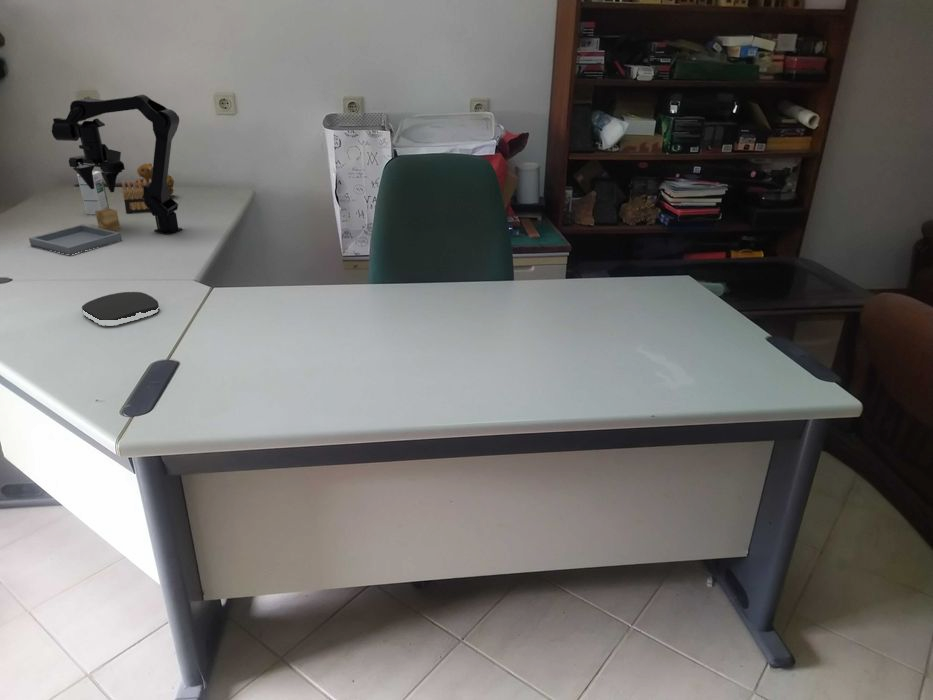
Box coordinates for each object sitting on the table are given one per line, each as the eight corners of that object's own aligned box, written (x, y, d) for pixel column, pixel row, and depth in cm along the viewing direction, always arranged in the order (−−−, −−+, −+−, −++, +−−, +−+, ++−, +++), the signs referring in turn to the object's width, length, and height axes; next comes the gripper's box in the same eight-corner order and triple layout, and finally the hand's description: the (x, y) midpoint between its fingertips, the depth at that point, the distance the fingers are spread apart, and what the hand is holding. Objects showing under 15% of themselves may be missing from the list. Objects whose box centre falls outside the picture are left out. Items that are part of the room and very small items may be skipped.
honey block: (120, 229, 221) (116, 210, 218) (108, 232, 218) (104, 213, 215) (111, 227, 223) (107, 208, 220) (99, 230, 219) (95, 211, 216)
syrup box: (102, 215, 235) (93, 174, 229) (85, 214, 235) (76, 173, 229) (110, 210, 240) (101, 170, 234) (94, 210, 240) (85, 170, 234)
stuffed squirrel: (140, 195, 262) (133, 161, 256) (178, 193, 266) (172, 160, 260) (137, 201, 254) (130, 166, 248) (176, 200, 258) (170, 165, 252)
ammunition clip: (126, 213, 238) (119, 180, 233) (126, 212, 240) (119, 179, 234) (158, 211, 242) (152, 178, 237) (158, 210, 243) (152, 177, 238)
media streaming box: (136, 297, 171) (134, 286, 170) (165, 313, 163) (163, 302, 162) (78, 313, 161) (75, 302, 159) (106, 331, 153) (103, 319, 151)
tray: (122, 240, 211) (120, 232, 210) (70, 255, 196) (68, 247, 195) (83, 231, 217) (81, 224, 216) (30, 246, 203) (28, 238, 201)
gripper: (133, 140, 212) (143, 189, 219) (92, 135, 218) (103, 182, 225) (103, 145, 203) (114, 196, 210) (62, 140, 209) (74, 189, 216)
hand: (102, 190), depth 216 cm, fingers open, 9 cm apart
